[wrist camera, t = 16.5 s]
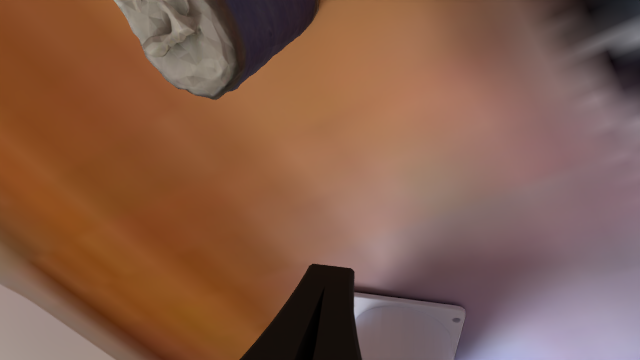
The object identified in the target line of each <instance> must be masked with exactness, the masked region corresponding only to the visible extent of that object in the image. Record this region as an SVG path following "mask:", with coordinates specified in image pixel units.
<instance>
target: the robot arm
mask: <svg viewBox="0 0 640 360" xmlns="http://www.w3.org/2000/svg"><path fill="white" fill-rule="evenodd" d="M465 316H466V314H465V310H464V308H462V307H460V306H455V305H448V304H440V303H432V302H425V301H417V300H410V299H402V298H394V297H387V296H379V295H372V294H364V293H356V292H354V271H353V270H352V269H351V268H344V267H336V266H327V265H319V264H312V265H310V266H309V268H308V269H307V271H306V273H305V275H304V276H303V278H302V279H301V281H300V283H299V284H298V286H297V287H296V289H295V290H294V292H293V293H292V295H291V296H290V298H289V299H288V301H287V302H286V303H285V305H284V306H283V307H282V309H281V310H280V311H279V313H278V314H277V316H276V317H275V318H274V320H273V321H272V322H271V323H270V325H269V326H268V327H267V328H266V329H265V331H264V332H263V333H262V334H261V336H260V337H259V338H258V339H257V340H256V342H255V343H254V344H253V345H252V346H251V347H250V349H249V350H248V351H247V352H246V353H245V354H244V355H243V356H242V358H241V359H240V360H454V357H455V353H456V349H457V346H458V342H459V338H460V335H461V331H462V327H463V324H464V320H465Z"/></svg>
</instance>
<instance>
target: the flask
mask: <svg viewBox="0 0 640 360" xmlns="http://www.w3.org/2000/svg"><path fill="white" fill-rule="evenodd" d="M114 1H115V2H116V4H117V5H118V6H119V8H120V9H121V11H122V12H123V13H124V15H125V16H126V18H127V20H128V22H129V24H130V27H131V29H132V31H133V33H134V34H135V35H136V36H137V37H138V38H139V40H140V43H141V46H142V48H143V50H144V52H145V55H146V57H147V59H148V60H149V61H150V62H151V63H152V64H153V66H154V67H156V68H157V69H158V70H159V72H160V73H161V74H162V75H163V77H164V78H165V79H166V80H167V81H168V82H170V83H171V84H172V85H174V86H175V87H176V88H178V89H185V90H187V91H188V92H190V93H192V94H194V95H196V96H202V97H207V98H210V99H215V100H217V99H219V98H220V97H221V96H222V95H224V94H225V93H226V92H229V91H233V90H235V89H237V88H238V87H239V86H240V84H241V83H242V82H244V81H245V80H246V79H247V78H248V77H249V76H251V75H253V74H254V73H256V72H257V71H258V70H259V69H260V68H261V67H262V66H264V65H265V64H266V63H267V62H268V61H269V60H270V59H271V58H272V57H273V56H274V55H275V54H277V53H278V52H280V51H281V50H282V49H283V48H284V47H285V46H286V45H288V44H289V43H290V42H292V41H293V40H294V39H295V38H297V37H298V36H300V35H301V34H302V33H303V32H304V30H305V29H306V28H307V27H308V26H309V25H310V24H311V22H312V21H313V20H314V18H315V16H316V14H317V12H318V10H319V9H318V0H114Z"/></svg>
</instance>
